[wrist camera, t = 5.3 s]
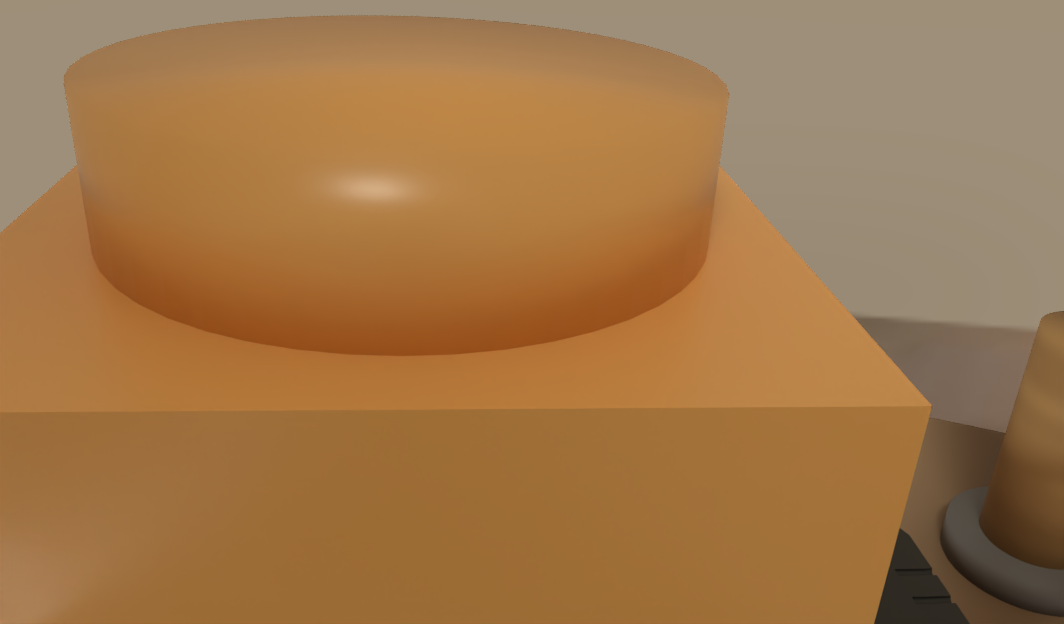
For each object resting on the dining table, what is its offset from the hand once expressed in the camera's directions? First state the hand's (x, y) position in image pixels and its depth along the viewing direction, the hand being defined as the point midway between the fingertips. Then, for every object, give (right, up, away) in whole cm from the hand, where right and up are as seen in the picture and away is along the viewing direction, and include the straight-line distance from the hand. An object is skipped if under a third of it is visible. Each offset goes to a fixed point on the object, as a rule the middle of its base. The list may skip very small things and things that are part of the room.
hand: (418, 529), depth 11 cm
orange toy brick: (0, -7, +1) cm, 7 cm away
